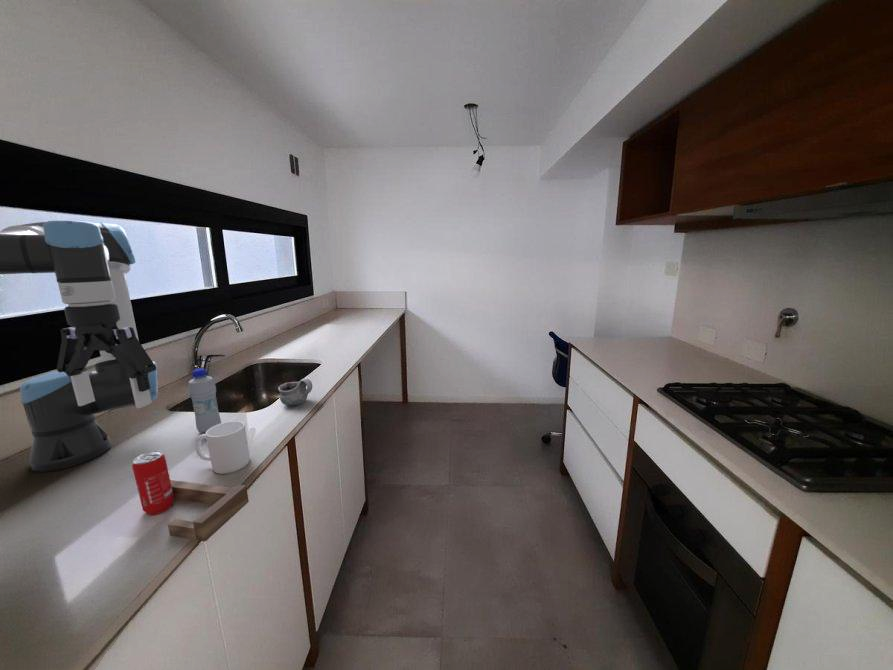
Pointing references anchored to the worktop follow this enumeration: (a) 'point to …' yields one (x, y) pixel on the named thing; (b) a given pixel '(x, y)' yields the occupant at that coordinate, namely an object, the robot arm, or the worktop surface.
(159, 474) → the beverage can
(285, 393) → the mug
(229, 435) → the cup
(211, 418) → the bottle
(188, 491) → the hook tool
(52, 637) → the worktop surface
